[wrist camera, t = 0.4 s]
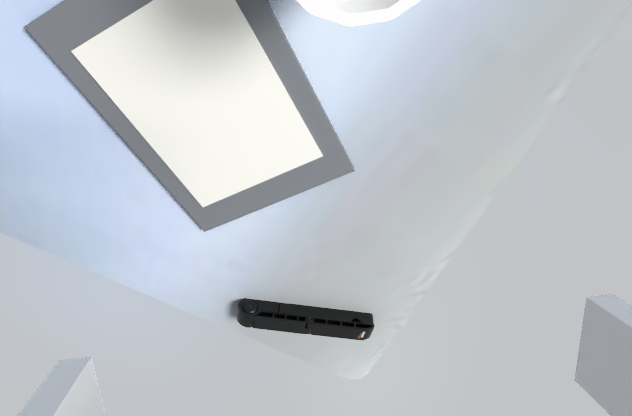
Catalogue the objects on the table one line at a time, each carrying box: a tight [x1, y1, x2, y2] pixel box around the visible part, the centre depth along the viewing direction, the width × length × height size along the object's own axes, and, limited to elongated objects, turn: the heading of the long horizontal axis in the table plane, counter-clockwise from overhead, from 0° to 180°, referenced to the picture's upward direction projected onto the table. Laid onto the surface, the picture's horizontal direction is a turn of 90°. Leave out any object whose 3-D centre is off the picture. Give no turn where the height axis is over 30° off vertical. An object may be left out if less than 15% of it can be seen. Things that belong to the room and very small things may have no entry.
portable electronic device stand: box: [237, 298, 374, 340], centre depth 55 cm, size 18×3×3 cm, turn 79°
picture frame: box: [24, 0, 354, 232], centre depth 37 cm, size 24×18×1 cm
